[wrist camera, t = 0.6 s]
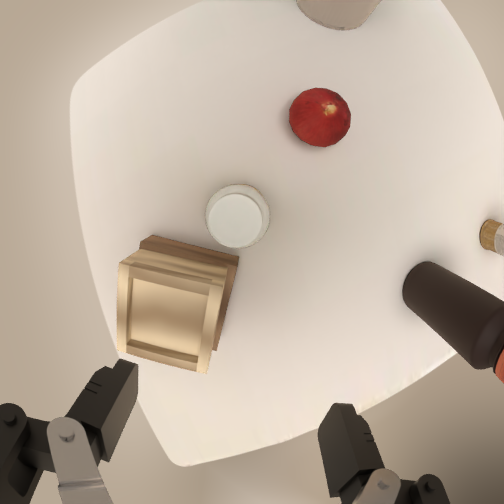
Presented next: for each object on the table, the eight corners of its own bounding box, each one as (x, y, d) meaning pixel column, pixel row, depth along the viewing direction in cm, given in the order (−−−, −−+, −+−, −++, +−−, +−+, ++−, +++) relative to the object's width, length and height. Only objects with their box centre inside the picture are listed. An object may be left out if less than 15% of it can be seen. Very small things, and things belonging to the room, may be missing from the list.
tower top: (140, 248, 27) (118, 263, 22) (228, 267, 27) (222, 287, 22) (135, 325, 29) (117, 350, 24) (212, 345, 30) (206, 373, 25)
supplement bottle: (274, 195, 30) (285, 201, 20) (254, 242, 31) (255, 268, 21) (226, 176, 29) (215, 173, 20) (207, 223, 30) (188, 241, 21)
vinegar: (418, 252, 31) (537, 318, 12) (448, 272, 32) (553, 337, 12) (392, 299, 32) (490, 395, 13) (425, 315, 33) (514, 401, 14)
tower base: (153, 234, 31) (140, 241, 27) (239, 256, 31) (237, 266, 27) (142, 312, 33) (130, 327, 29) (219, 333, 34) (216, 350, 30)
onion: (312, 89, 27) (331, 62, 19) (348, 128, 28) (378, 113, 20) (273, 121, 28) (281, 101, 20) (311, 161, 29) (332, 154, 21)
